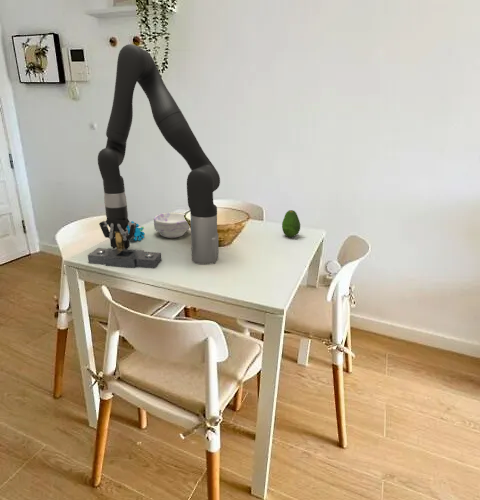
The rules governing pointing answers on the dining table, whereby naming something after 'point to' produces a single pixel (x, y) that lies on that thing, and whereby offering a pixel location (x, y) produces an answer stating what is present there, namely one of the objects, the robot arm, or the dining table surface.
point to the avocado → (291, 224)
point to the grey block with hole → (125, 258)
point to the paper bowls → (171, 224)
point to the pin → (119, 240)
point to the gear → (137, 232)
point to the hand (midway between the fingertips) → (120, 248)
